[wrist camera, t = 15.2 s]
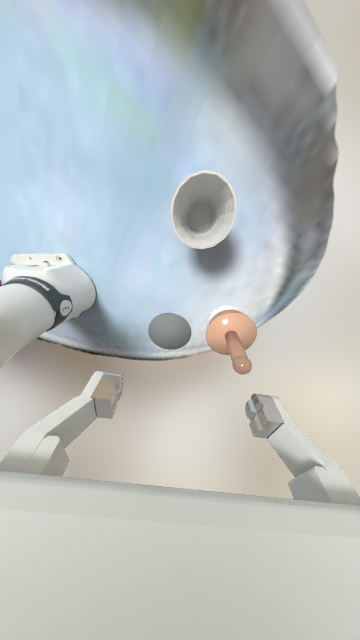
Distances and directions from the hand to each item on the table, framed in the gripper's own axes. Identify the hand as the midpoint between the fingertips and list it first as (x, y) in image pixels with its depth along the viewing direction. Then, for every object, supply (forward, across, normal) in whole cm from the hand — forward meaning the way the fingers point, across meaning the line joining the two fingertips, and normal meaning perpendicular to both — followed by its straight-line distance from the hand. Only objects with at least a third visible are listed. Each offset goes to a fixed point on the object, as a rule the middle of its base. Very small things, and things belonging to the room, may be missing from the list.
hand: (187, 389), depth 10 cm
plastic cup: (+37, -1, -10) cm, 39 cm away
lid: (+26, -14, +13) cm, 32 cm away
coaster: (+36, +1, +22) cm, 42 cm away
